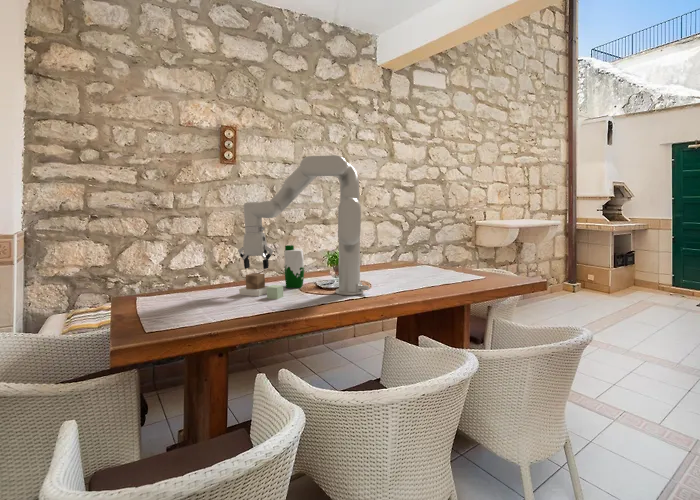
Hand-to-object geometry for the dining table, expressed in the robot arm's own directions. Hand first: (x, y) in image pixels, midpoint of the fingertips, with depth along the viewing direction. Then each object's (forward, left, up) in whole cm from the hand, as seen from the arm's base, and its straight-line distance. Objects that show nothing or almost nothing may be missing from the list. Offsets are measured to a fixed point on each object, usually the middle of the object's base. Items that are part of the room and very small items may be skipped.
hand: (256, 268), depth 182 cm
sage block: (-12, +5, -11) cm, 18 cm away
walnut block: (+1, 0, -9) cm, 9 cm away
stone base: (+1, 0, -11) cm, 11 cm away
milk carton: (-9, -19, -12) cm, 24 cm away
